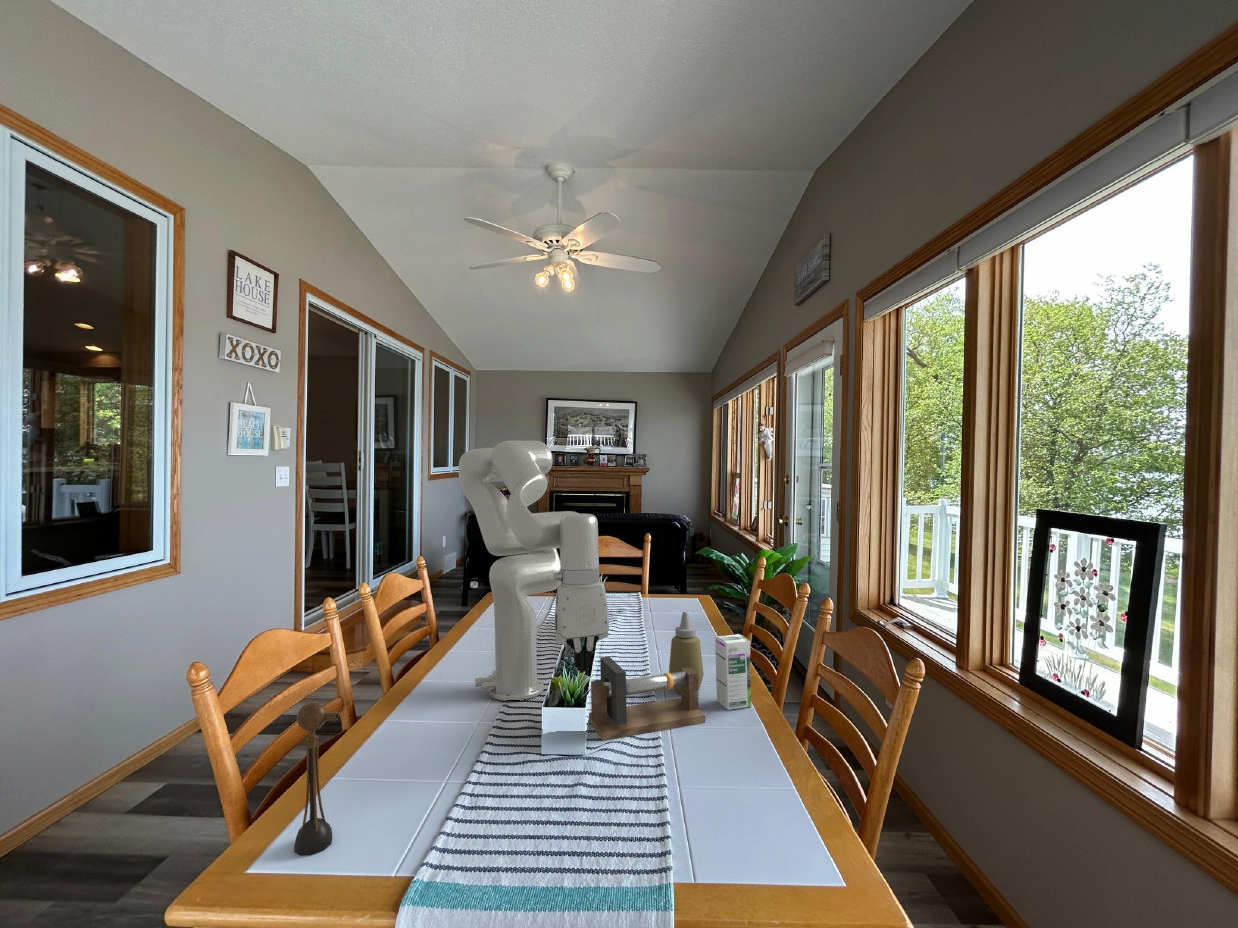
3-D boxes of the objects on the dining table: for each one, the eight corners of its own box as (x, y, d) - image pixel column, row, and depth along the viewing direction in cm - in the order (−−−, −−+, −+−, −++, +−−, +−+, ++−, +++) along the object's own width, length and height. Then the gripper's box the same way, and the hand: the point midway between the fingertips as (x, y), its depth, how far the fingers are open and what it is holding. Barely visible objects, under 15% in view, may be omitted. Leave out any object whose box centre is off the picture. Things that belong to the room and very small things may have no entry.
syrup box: (727, 710, 127) (726, 642, 127) (715, 700, 132) (714, 634, 132) (751, 707, 128) (750, 640, 128) (739, 697, 134) (738, 632, 134)
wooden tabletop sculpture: (345, 833, 87) (343, 695, 87) (331, 854, 82) (329, 708, 82) (304, 834, 86) (302, 696, 86) (287, 855, 82) (285, 709, 82)
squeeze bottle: (663, 693, 137) (662, 614, 137) (676, 681, 144) (675, 606, 144) (696, 699, 133) (695, 618, 133) (708, 686, 140) (707, 610, 140)
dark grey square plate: (616, 725, 115) (616, 673, 115) (601, 705, 124) (600, 657, 124) (626, 723, 116) (625, 671, 116) (610, 704, 125) (609, 656, 125)
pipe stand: (602, 740, 114) (601, 693, 114) (587, 719, 123) (586, 675, 123) (705, 722, 121) (704, 677, 121) (684, 703, 131) (683, 662, 131)
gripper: (547, 583, 112) (549, 682, 111) (622, 576, 117) (625, 670, 116) (538, 577, 119) (541, 669, 119) (610, 570, 124) (612, 659, 124)
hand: (582, 670), depth 117 cm, fingers closed
